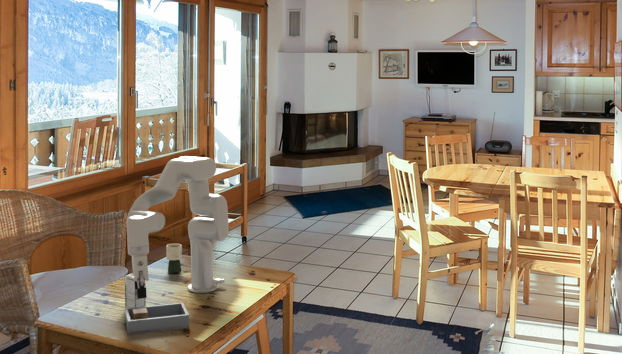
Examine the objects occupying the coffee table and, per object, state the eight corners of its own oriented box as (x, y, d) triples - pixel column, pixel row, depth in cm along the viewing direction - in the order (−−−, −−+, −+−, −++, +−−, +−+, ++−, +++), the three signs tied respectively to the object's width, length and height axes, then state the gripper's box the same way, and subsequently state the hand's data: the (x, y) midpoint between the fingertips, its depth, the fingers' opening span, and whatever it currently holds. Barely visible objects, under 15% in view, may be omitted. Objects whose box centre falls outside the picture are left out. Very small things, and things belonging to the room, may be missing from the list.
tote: (183, 314, 277) (182, 302, 276) (189, 327, 264) (188, 314, 263) (125, 321, 270) (124, 308, 269) (128, 334, 257) (127, 321, 256)
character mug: (186, 274, 328) (185, 247, 326) (171, 276, 324) (171, 249, 322) (177, 268, 337) (176, 241, 335) (163, 270, 333) (162, 243, 331)
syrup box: (136, 306, 285) (135, 271, 283) (146, 309, 282) (145, 274, 280) (125, 310, 281) (123, 275, 278) (135, 313, 278) (134, 277, 275)
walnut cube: (146, 320, 268) (146, 307, 267) (148, 325, 263) (147, 312, 262) (133, 321, 266) (132, 309, 265) (134, 326, 261) (133, 313, 261)
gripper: (151, 255, 253) (153, 300, 257) (146, 241, 269) (148, 284, 273) (130, 257, 251) (132, 302, 254) (125, 243, 267) (128, 286, 270)
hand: (140, 293), depth 263 cm, fingers open, 9 cm apart
